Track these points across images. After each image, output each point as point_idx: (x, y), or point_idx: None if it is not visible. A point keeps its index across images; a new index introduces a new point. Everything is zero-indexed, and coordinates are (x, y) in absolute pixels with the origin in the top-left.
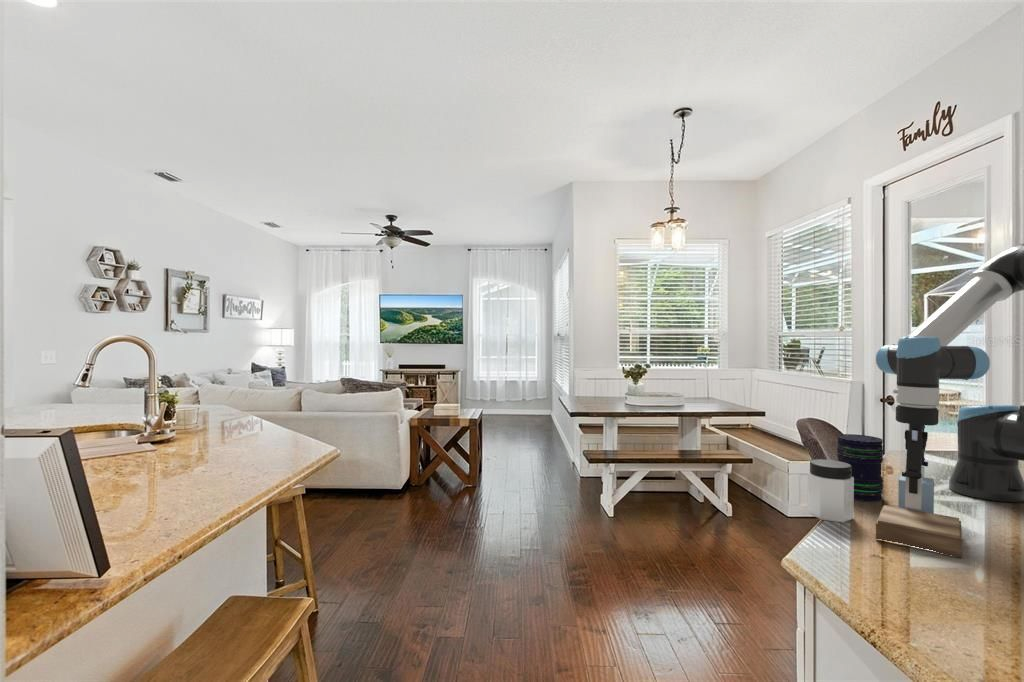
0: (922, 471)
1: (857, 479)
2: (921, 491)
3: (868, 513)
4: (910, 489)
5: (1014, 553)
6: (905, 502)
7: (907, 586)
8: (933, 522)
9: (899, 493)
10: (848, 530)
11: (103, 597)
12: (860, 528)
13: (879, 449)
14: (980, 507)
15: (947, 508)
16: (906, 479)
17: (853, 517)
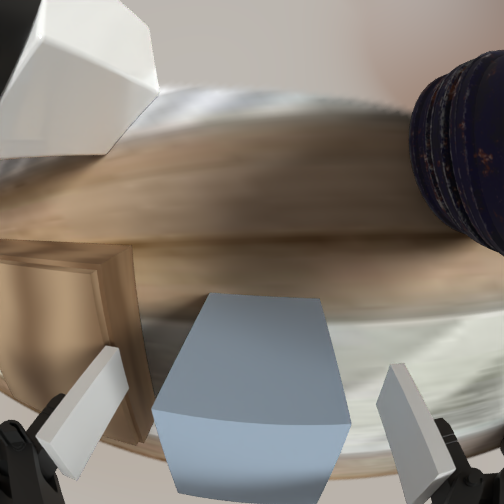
0: (404, 486)
1: (463, 133)
2: (99, 436)
3: (224, 190)
4: (50, 406)
5: (138, 454)
6: (97, 357)
7: None
8: (43, 382)
9: (177, 358)
10: (13, 171)
11: None
12: (40, 193)
13: None
14: (467, 430)
15: (442, 395)
16: (44, 428)
17: (102, 154)
